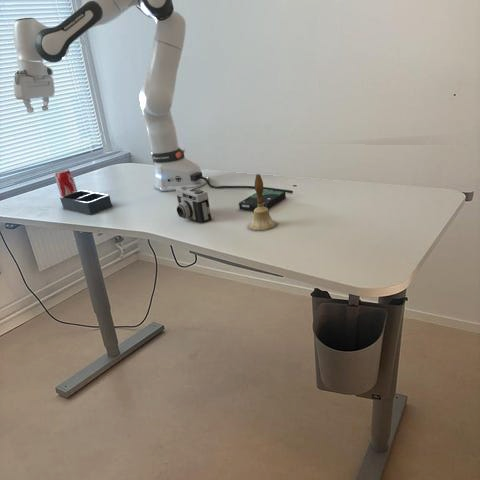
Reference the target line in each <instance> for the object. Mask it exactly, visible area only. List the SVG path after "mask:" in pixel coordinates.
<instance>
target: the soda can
mask: <svg viewBox="0 0 480 480" xmlns="http://www.w3.org/2000/svg"><path fill="white" fill-rule="evenodd" d="M54 173H55V174H54V179H55V182H56V186H57V188H58V192H59V195H60V197H63V196H66V195H69V194H71V193H74V192H77V191H78V189H77V185H76V181H75V179H74V177H73V173H72V171H70V169H69V168H61V169H58V170H55V171H54Z"/></svg>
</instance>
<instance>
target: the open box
mask: <svg viewBox="0 0 480 480" xmlns="http://www.w3.org/2000/svg"><path fill="white" fill-rule="evenodd" d="M110 196H111V195H110V194H106V193H100V192H94V191H90V190H84V189H80V190H77V192H74V193H71V194H69V195H66V196H63V197H61V196H60V197H59V199H60V202H61V206H62V208H63V210H67V211H72V212H76V213H80V214H85V215H89V216H92V215H95V214H97V213H100V212H102V211H104V210H107V209H109V208H112V207H113V204H112V200H111V197H110Z"/></svg>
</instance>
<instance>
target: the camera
mask: <svg viewBox="0 0 480 480" xmlns="http://www.w3.org/2000/svg"><path fill="white" fill-rule="evenodd" d="M175 193H176V199H177V203H178V204H177V207H176V213H177V215H178V216H179V217H180V218H182V219H187V220H188V219H189V220H191V221H195V222H198V223H199V224H204V223H207V222H209V221H211V220H212V212H211V207H210V202H209V195H208V194H209V193H208V191H205V190H203V189H200V188H194V187H190V186H182V187H179V188H176V190H175Z"/></svg>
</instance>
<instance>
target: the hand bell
mask: <svg viewBox="0 0 480 480" xmlns="http://www.w3.org/2000/svg"><path fill="white" fill-rule="evenodd" d="M254 186H255V193H257V198H258V207H257V208H256V209H255V210H254V211H253V218H252V221H251V223H250V224H249V229H250V230H253V231H257V232H258V231H268V230H270V229H271V230H272V229H273V228H275V227H276V225H277V223H276V221H274V220H273V219H272V216H271V215H270V211H269V209H268V208H266V207H264V206H263V197H262V194H263V190H264V189H263V187H264V181H263V178H262V176H261V174H260V173H258V174H255V179H254Z"/></svg>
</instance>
